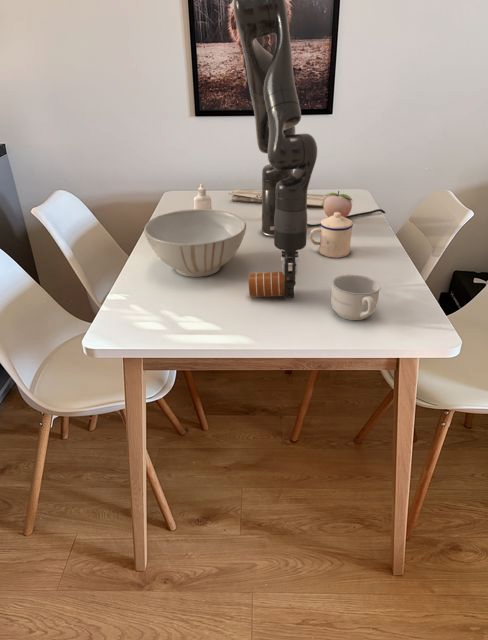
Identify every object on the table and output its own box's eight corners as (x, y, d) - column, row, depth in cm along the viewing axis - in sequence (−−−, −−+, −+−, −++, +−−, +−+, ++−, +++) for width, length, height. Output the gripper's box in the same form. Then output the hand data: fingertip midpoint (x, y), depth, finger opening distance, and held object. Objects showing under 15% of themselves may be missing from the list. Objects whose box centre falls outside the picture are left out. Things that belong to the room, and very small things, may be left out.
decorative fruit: (319, 224, 182) (321, 193, 177) (324, 216, 189) (326, 186, 183) (348, 226, 180) (351, 196, 174) (352, 218, 186) (355, 188, 181)
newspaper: (329, 199, 204) (329, 190, 202) (325, 210, 194) (325, 200, 192) (235, 194, 211) (235, 184, 209) (226, 204, 201) (226, 194, 199)
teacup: (325, 304, 135) (327, 273, 130) (369, 302, 135) (373, 271, 131) (338, 333, 123) (341, 301, 119) (386, 331, 124) (391, 298, 119)
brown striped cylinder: (249, 302, 136) (248, 278, 132) (251, 291, 141) (249, 267, 138) (291, 301, 135) (290, 276, 132) (290, 289, 140) (290, 265, 137)
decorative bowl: (209, 298, 138) (207, 252, 132) (128, 274, 150) (122, 231, 144) (264, 260, 157) (264, 218, 151) (188, 242, 169) (185, 203, 163)
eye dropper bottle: (209, 222, 184) (208, 186, 178) (193, 221, 185) (191, 185, 179) (213, 218, 188) (211, 182, 181) (197, 217, 189) (195, 181, 182)
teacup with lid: (347, 246, 166) (350, 207, 160) (352, 258, 158) (356, 218, 152) (306, 246, 166) (308, 208, 159) (310, 259, 158) (312, 219, 152)
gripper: (308, 237, 122) (305, 305, 131) (305, 215, 134) (303, 279, 143) (273, 237, 122) (273, 305, 131) (274, 215, 135) (273, 279, 143)
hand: (289, 291), depth 137 cm, fingers closed on brown striped cylinder, 6 cm apart
